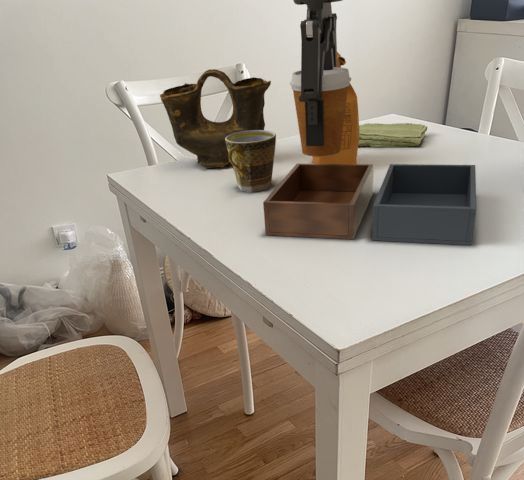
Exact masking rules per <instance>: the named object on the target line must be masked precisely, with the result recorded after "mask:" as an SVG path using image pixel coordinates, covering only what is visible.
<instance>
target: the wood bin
mask: <svg viewBox="0 0 524 480" xmlns="http://www.w3.org/2000/svg"><path fill="white" fill-rule="evenodd" d="M374 168H375V164H374V163H356V164H313V163H302V162H301V163H300V162H299V163H298V162H297V163H296V164H295V165H294V166H293V167H292V168H291V169H290V170H289V172H288V173H287V174H286V175H285V177H284V178H282V180H281V181H280V182H279V184H277V186H275V188H274V190H272V191H271V192H270V194H269V195H268V196H267V197H266V198H265V199H264V201H262V202H263V203H262V206H263V215H264V216H263V217H264V229H265V230H264V231H265V236H275V237H276V236H277V237H278V236H279V237H295V238H296V237H298V238H318V239H337V240H338V239H339V240H355V237H356V234H357V231H358V230H359V226H360V225H361V223H362V220H363V219H364V218H363V217H364V215H365V213H366V210H367V208H368V206H369V203H370V201H371V198H372V196H373V194H374V170H375V169H374Z"/></svg>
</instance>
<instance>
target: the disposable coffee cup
mask: <svg viewBox="0 0 524 480" xmlns="http://www.w3.org/2000/svg"><path fill="white" fill-rule="evenodd" d="M351 81H352V77H351V76H350V72H349V68H346V67H341V68H339V67H333V70H323V76H322V99H321V100H324V145H323V146H306V120H305V102H300V101H299V96H301V69H300V70H296V71H293V73H292V74H291V80H290V81H289V85H290V86H291V90H292V92H293V93H292V94H293V100H294V105H295V106H294V107H295V112H296V119H297V125H298V130H299V131H298V132H299V139H300V147H301V151H302V152H301V153H302V154H303V155H305V156H307V157H312V156H313V157H322V156H330V155H334V154H337V153H339V152H340V148H341V140H342V132H343V124H344V116H345V108H346V100H347V91H348V86H349V85H350V84H351ZM311 90H314V89H311Z"/></svg>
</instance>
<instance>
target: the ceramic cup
mask: <svg viewBox="0 0 524 480" xmlns="http://www.w3.org/2000/svg"><path fill="white" fill-rule="evenodd" d="M225 141H226V145H227V149H228V153H229V161H230V162H229V164H231V165H232V168H233V172H234V176H235V179H236V184H237V186H238V188H239V189H240V191H241V192H245V193H246V192H247V193H254V192H261V191H265V190H267V189H269V188H270V187H271V186H272V181H273V170H274V162H275V161H274V159H275V154H276V145H277V144H276V142H277V134H276V133H275V132H274V131H271V130H266V129H264V130H250V131H243V132H238V133H234V134H231V135H229V136H227V137H226V138H225Z"/></svg>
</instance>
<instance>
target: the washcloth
mask: <svg viewBox="0 0 524 480" xmlns="http://www.w3.org/2000/svg"><path fill="white" fill-rule="evenodd" d="M427 131H428V125H425V124H420V123H413V122H410V123H409V122H406V123H405V122H403V123H378V122H377V123H376V122H375V123H368V122H367V123H364V124H359V145H358V147H371V148H377V147H387V148H398V147H401V148H402V147H415V146H416V147H418V146H419V145H420V144H421V142H422V140H423V138H424V137H425V136H426V132H427Z"/></svg>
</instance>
